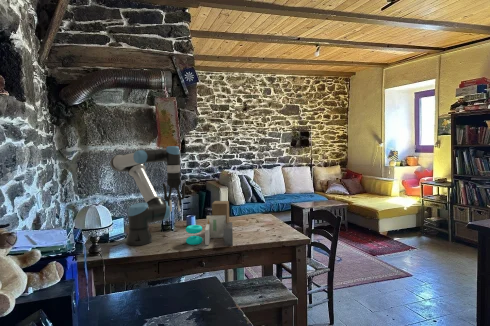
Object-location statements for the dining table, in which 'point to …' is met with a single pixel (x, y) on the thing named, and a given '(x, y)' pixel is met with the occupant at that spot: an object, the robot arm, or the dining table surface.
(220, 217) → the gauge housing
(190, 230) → the donuts
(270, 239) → the dining table surface
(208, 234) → the gauge plate
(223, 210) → the wooden block
